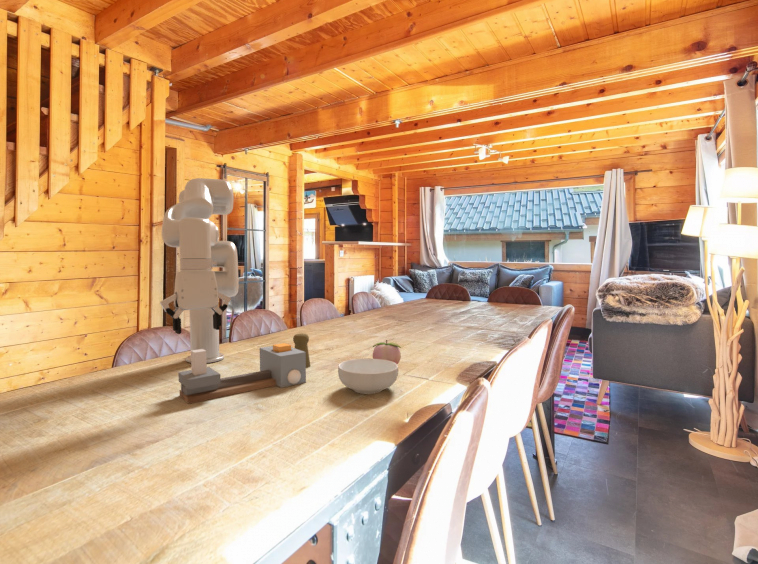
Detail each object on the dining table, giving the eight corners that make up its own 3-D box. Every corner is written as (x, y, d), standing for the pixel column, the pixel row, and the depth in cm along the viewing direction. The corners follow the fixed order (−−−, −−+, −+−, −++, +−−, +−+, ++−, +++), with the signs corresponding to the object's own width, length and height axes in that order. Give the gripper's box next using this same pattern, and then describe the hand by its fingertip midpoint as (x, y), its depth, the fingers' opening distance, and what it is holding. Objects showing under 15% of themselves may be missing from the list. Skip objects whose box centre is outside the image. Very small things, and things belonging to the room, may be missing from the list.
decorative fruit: (401, 367, 143) (401, 337, 142) (400, 373, 135) (400, 342, 134) (373, 366, 144) (373, 336, 143) (370, 373, 136) (370, 341, 135)
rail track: (179, 395, 114) (179, 382, 114) (264, 379, 130) (264, 367, 129) (188, 403, 108) (188, 390, 108) (276, 385, 123) (276, 373, 123)
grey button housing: (260, 376, 132) (259, 347, 131) (283, 372, 137) (283, 344, 136) (282, 388, 121) (281, 356, 120) (306, 382, 126) (306, 352, 125)
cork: (306, 369, 141) (306, 335, 140) (289, 368, 142) (288, 335, 141) (313, 364, 147) (312, 332, 146) (296, 363, 148) (295, 331, 147)
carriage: (178, 388, 115) (177, 349, 114) (209, 382, 120) (208, 345, 119) (188, 397, 108) (187, 356, 107) (220, 390, 113) (219, 351, 112)
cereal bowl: (392, 402, 110) (392, 374, 109) (330, 397, 113) (330, 371, 112) (402, 382, 126) (402, 358, 126) (347, 379, 129) (347, 356, 129)
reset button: (273, 358, 129) (272, 344, 129) (285, 355, 131) (284, 343, 131) (279, 360, 126) (278, 347, 126) (291, 358, 128) (291, 345, 128)
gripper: (224, 265, 120) (225, 326, 121) (155, 266, 109) (158, 333, 110) (234, 265, 114) (235, 329, 115) (163, 266, 103) (165, 337, 104)
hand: (197, 331), depth 112 cm, fingers open, 9 cm apart
